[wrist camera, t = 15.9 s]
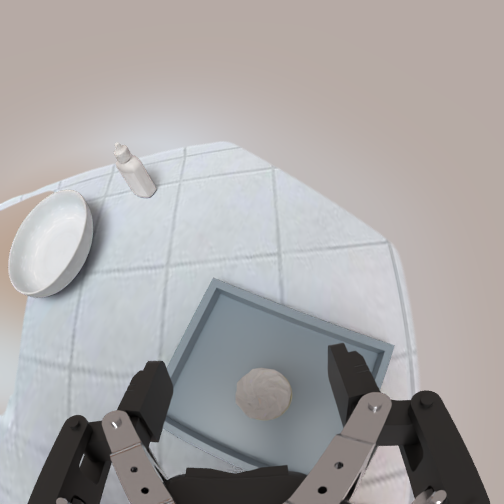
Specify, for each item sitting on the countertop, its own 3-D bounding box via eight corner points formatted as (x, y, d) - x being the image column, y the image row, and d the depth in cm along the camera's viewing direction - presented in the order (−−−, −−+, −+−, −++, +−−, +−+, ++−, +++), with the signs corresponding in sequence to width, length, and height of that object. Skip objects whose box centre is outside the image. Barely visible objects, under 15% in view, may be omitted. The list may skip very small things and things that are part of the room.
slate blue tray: (155, 414, 32) (143, 415, 28) (219, 287, 39) (213, 277, 36) (324, 488, 25) (328, 497, 22) (385, 349, 32) (394, 345, 29)
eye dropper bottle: (137, 205, 48) (107, 160, 37) (130, 187, 50) (102, 142, 40) (158, 193, 48) (132, 145, 38) (150, 175, 51) (125, 129, 40)
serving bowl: (108, 195, 50) (91, 172, 44) (107, 293, 41) (83, 276, 35) (35, 228, 50) (17, 212, 44) (26, 317, 40) (2, 305, 34)
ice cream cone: (273, 364, 33) (265, 349, 19) (299, 396, 30) (309, 403, 17) (240, 388, 32) (207, 388, 18) (265, 420, 29) (249, 444, 16)
